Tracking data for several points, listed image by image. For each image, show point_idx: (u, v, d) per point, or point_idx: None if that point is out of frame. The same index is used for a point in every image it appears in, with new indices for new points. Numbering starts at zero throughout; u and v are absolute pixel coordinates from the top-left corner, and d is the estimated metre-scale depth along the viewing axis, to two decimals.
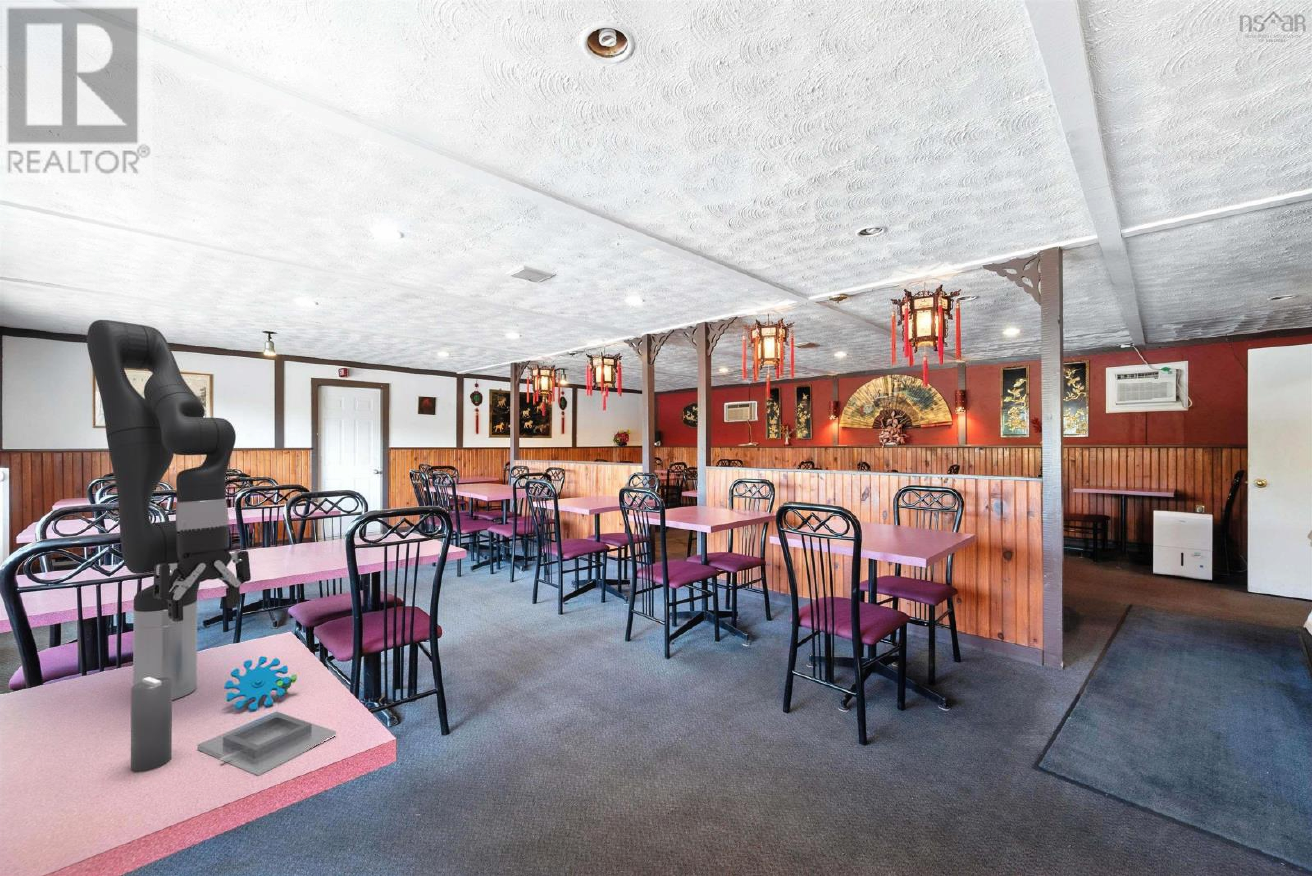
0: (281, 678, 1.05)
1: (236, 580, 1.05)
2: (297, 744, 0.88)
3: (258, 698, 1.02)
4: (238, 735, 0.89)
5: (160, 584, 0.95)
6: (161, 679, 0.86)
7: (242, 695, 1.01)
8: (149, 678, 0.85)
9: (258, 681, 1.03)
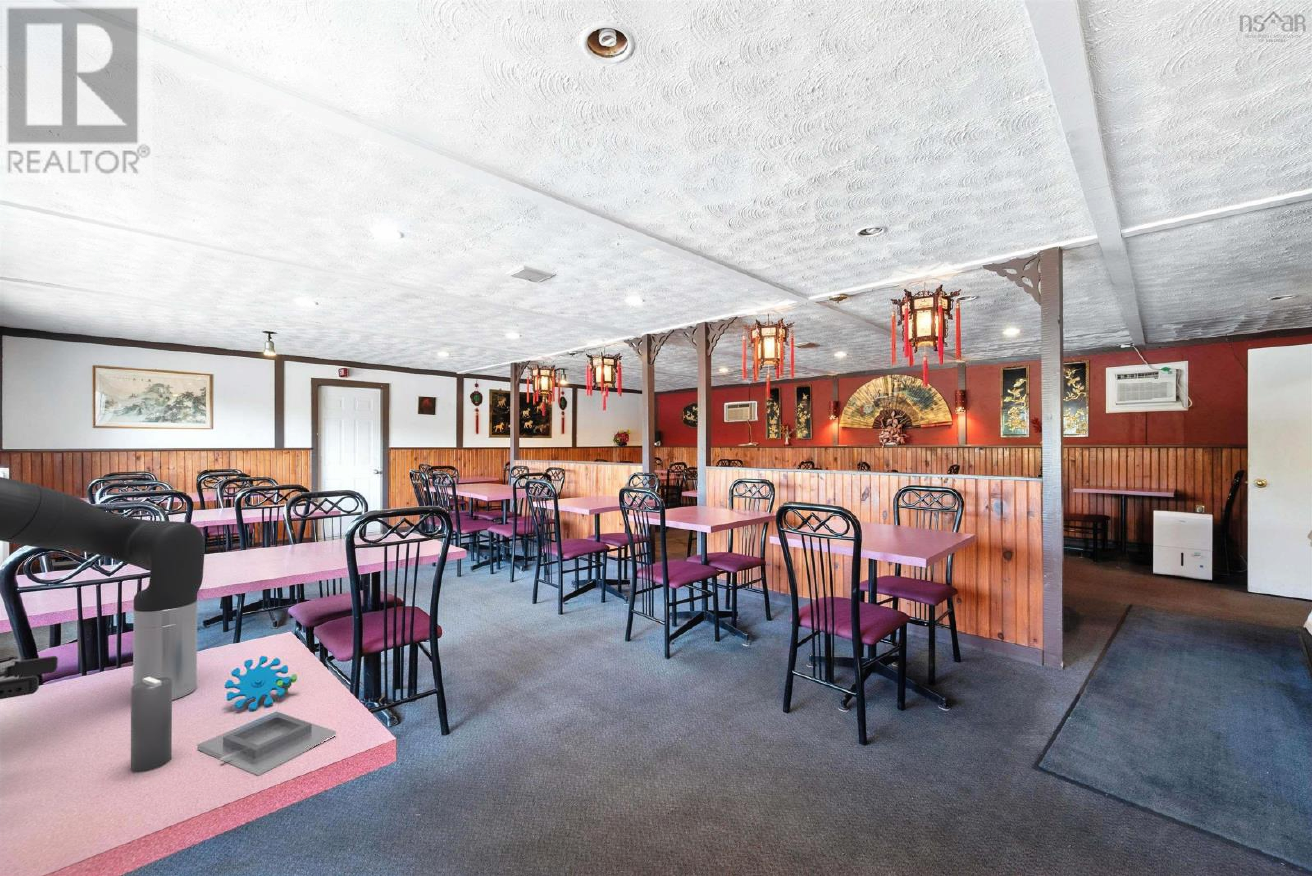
0: (281, 678, 1.06)
1: None
2: (297, 744, 0.88)
3: (258, 697, 1.02)
4: (238, 735, 0.89)
5: None
6: (161, 679, 0.86)
7: (242, 695, 1.01)
8: (149, 678, 0.85)
9: (258, 681, 1.03)
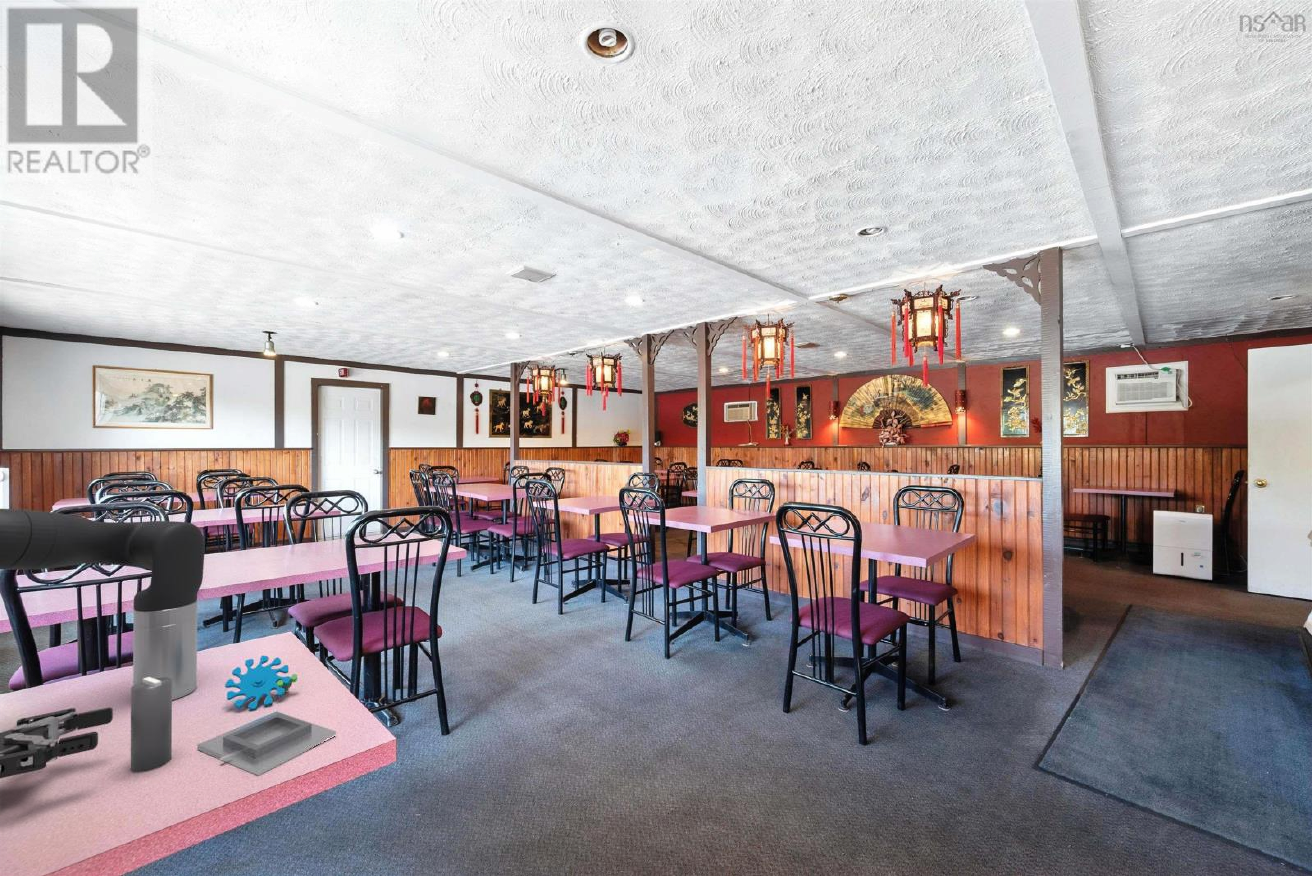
0: (281, 678, 1.06)
1: None
2: (297, 744, 0.88)
3: (258, 697, 1.02)
4: (238, 735, 0.89)
5: None
6: (161, 679, 0.86)
7: (242, 694, 1.02)
8: (149, 678, 0.85)
9: (258, 680, 1.03)
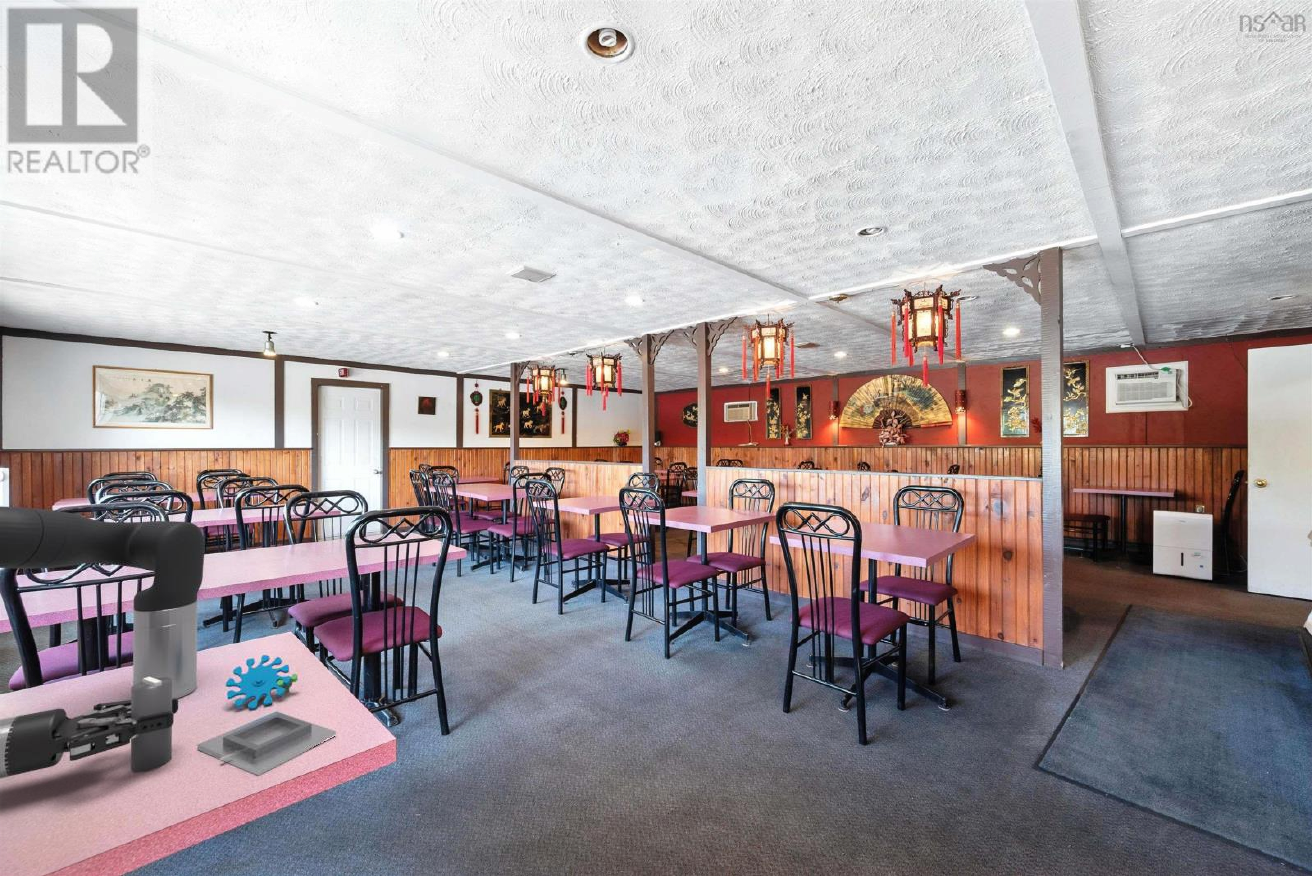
0: (282, 677, 1.06)
1: None
2: (297, 744, 0.88)
3: (258, 696, 1.02)
4: (238, 735, 0.89)
5: None
6: (161, 679, 0.86)
7: (243, 693, 1.02)
8: (149, 678, 0.85)
9: (259, 680, 1.03)
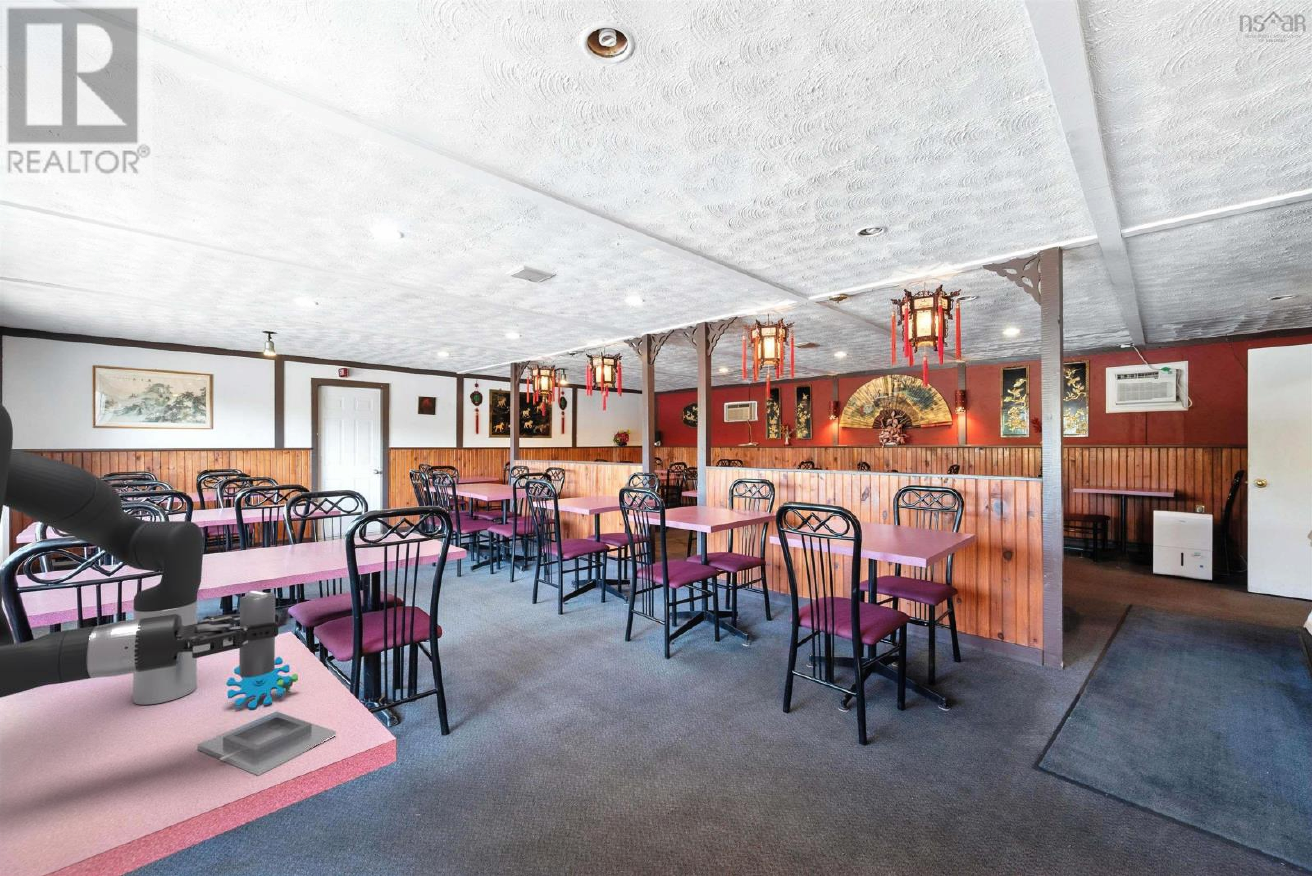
0: (282, 677, 1.06)
1: None
2: (297, 744, 0.88)
3: (258, 696, 1.02)
4: (238, 735, 0.89)
5: None
6: None
7: (243, 693, 1.02)
8: (255, 591, 0.90)
9: (259, 679, 1.04)
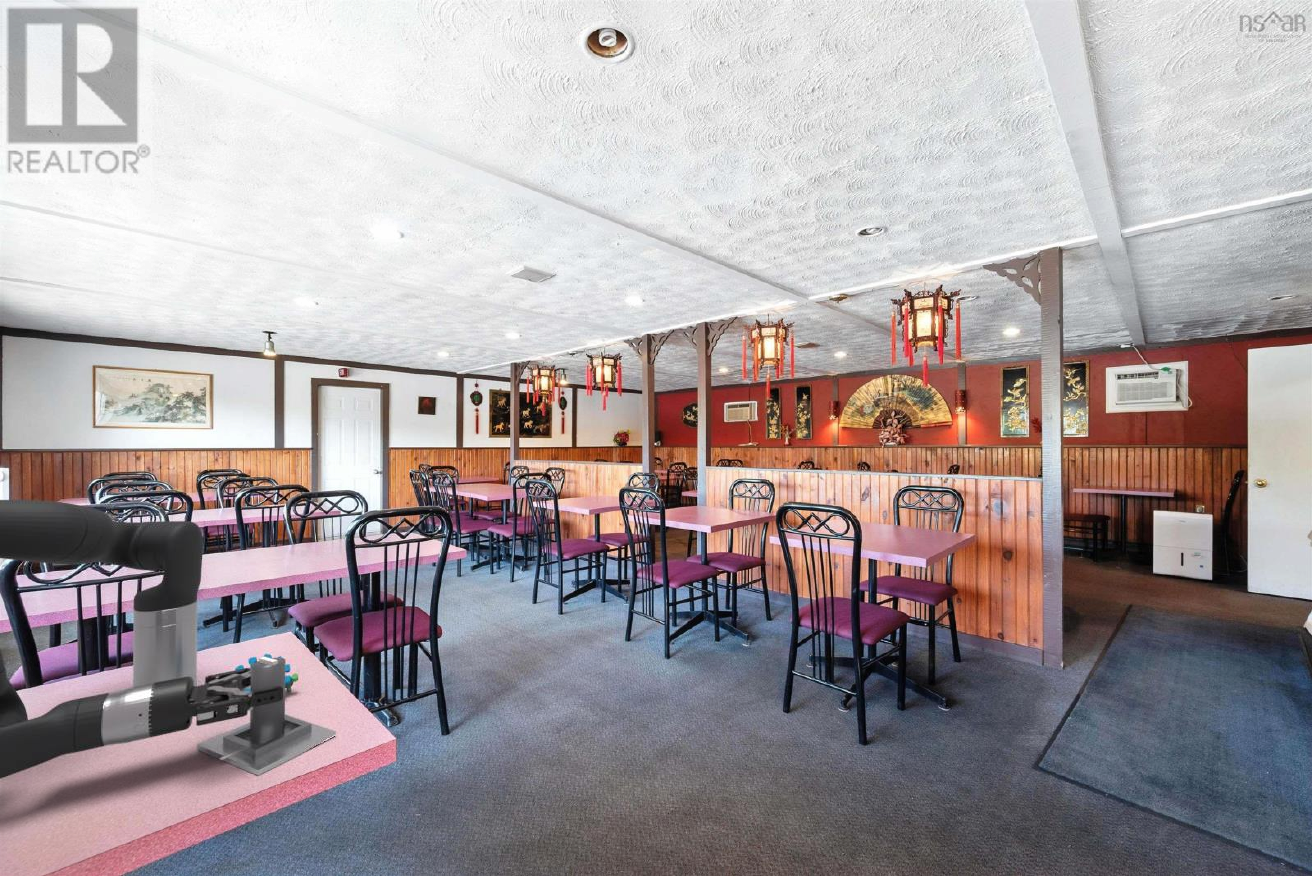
0: None
1: None
2: (297, 744, 0.88)
3: None
4: (238, 735, 0.89)
5: None
6: (275, 659, 0.92)
7: None
8: (265, 657, 0.91)
9: None
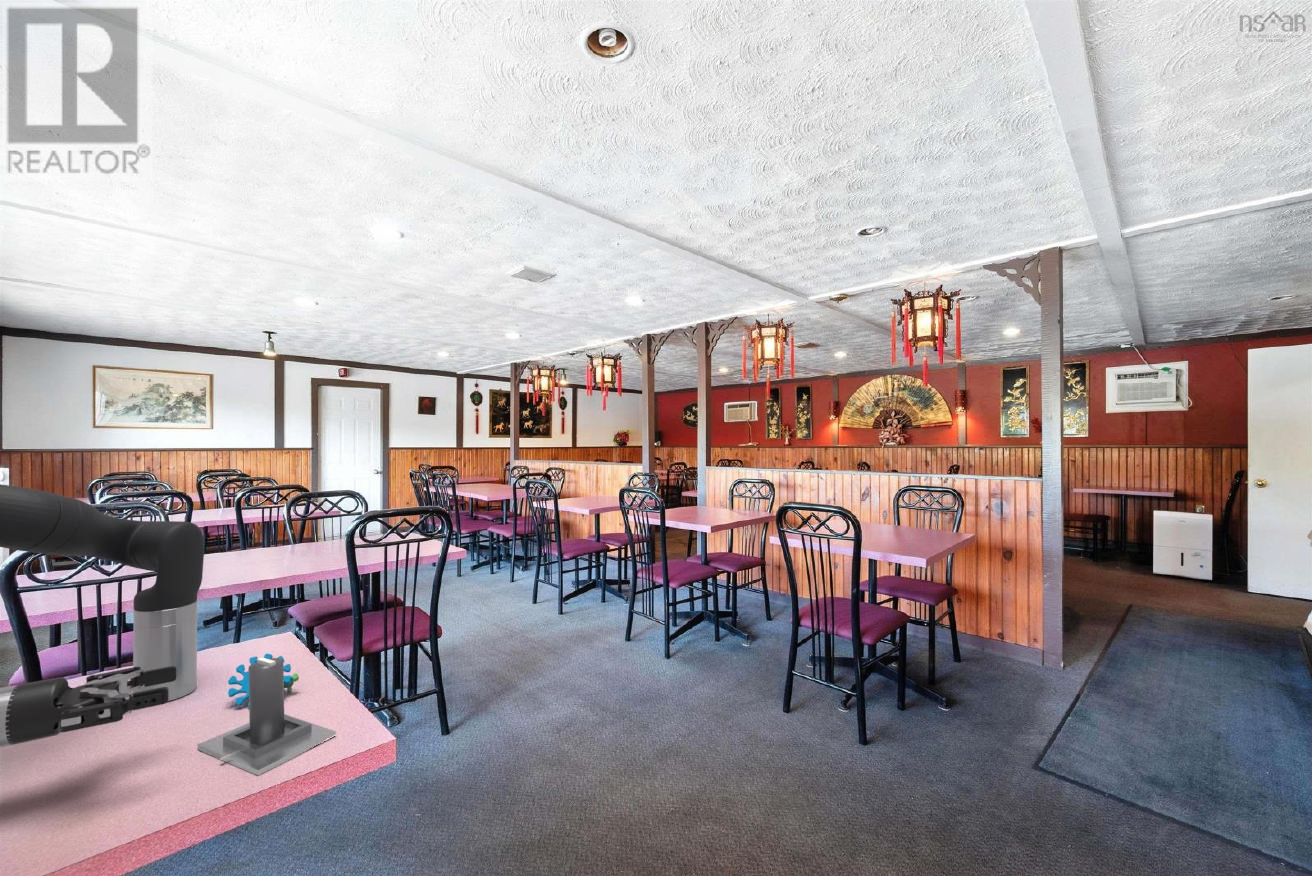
0: None
1: None
2: (297, 744, 0.88)
3: None
4: (238, 735, 0.89)
5: None
6: (273, 659, 0.91)
7: (243, 691, 1.03)
8: (263, 658, 0.90)
9: None
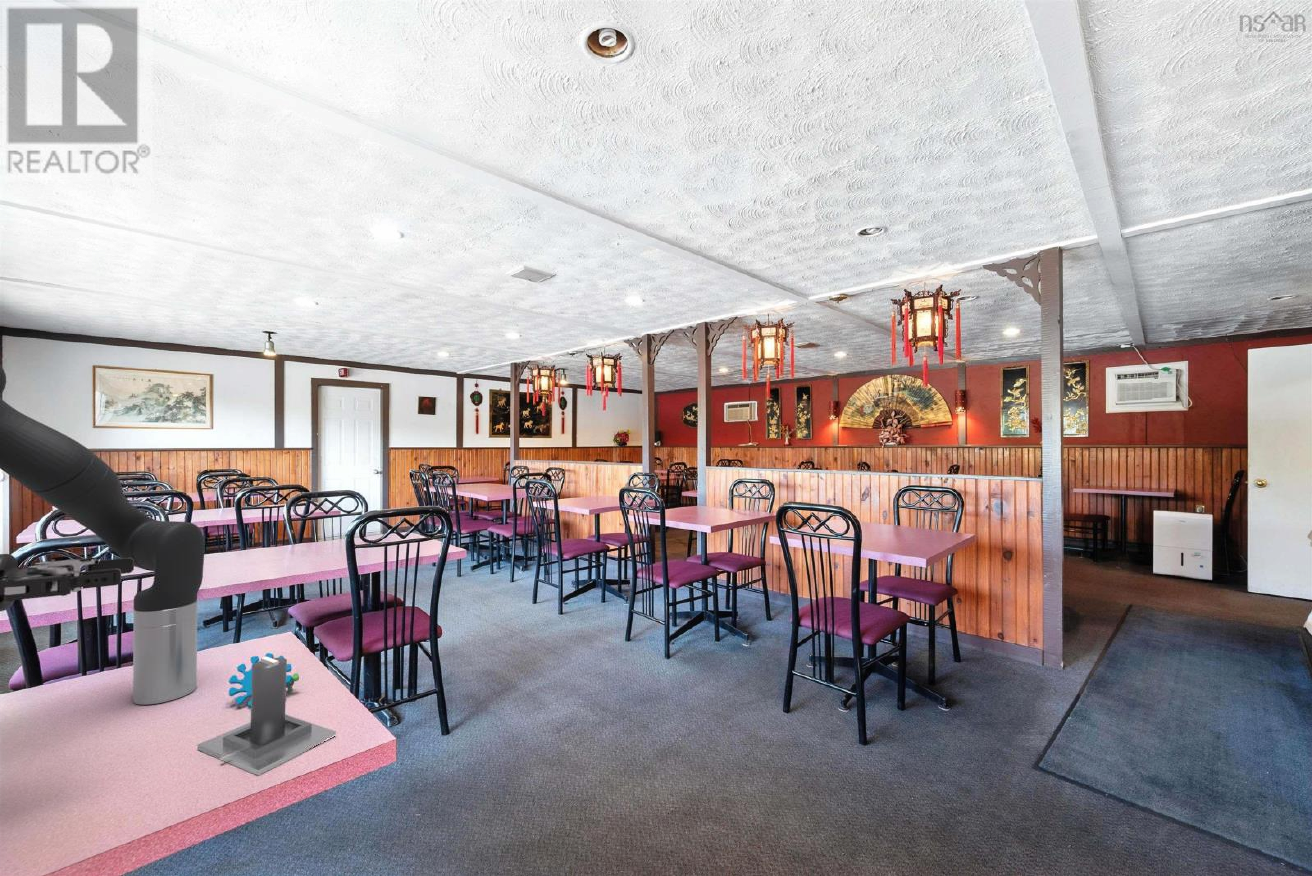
0: None
1: None
2: (297, 744, 0.88)
3: None
4: (238, 735, 0.89)
5: None
6: (277, 659, 0.92)
7: (244, 691, 1.03)
8: (267, 657, 0.91)
9: None
